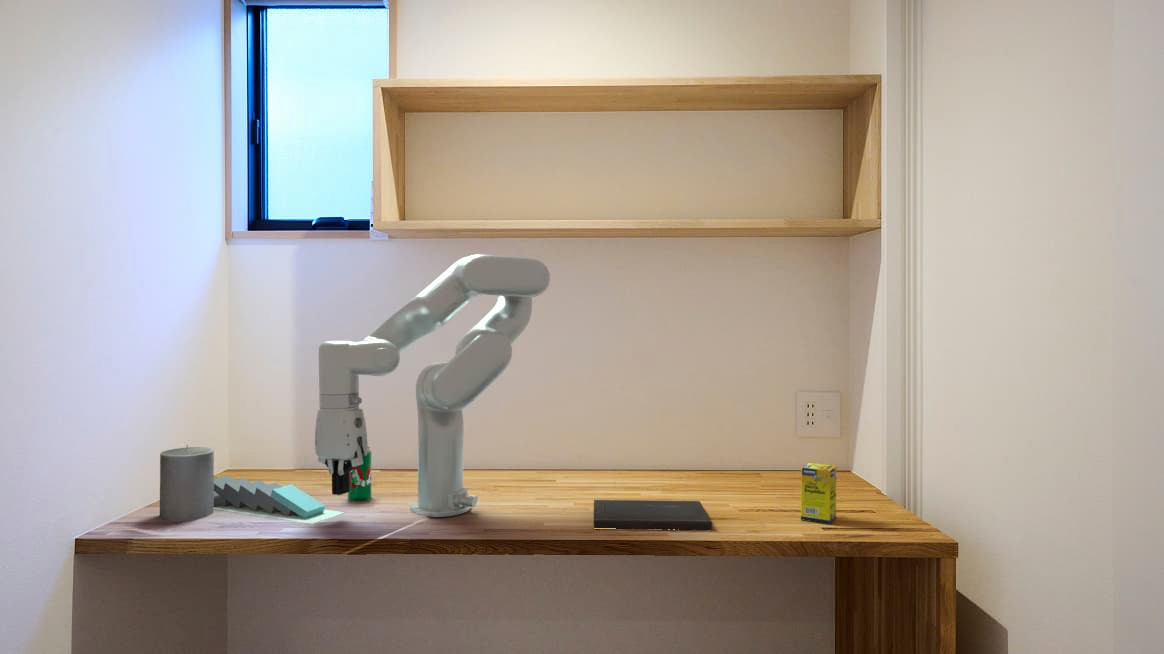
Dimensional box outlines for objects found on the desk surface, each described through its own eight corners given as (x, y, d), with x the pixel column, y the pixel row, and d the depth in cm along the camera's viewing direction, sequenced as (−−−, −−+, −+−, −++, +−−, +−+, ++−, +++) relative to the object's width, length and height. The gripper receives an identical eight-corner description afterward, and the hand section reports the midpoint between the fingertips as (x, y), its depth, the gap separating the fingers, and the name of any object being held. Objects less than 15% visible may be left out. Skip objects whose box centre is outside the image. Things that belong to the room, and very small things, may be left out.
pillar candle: (157, 515, 143) (157, 443, 143) (210, 508, 149) (210, 439, 149) (162, 527, 135) (161, 451, 135) (217, 519, 141) (217, 446, 141)
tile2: (308, 503, 145) (275, 482, 149) (290, 509, 141) (256, 487, 144) (306, 510, 146) (273, 489, 149) (288, 516, 141) (254, 494, 145)
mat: (344, 515, 144) (344, 512, 144) (312, 526, 136) (312, 523, 136) (246, 501, 155) (246, 498, 155) (211, 511, 147) (211, 508, 147)
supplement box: (830, 525, 139) (830, 470, 139) (800, 520, 142) (800, 467, 142) (836, 518, 144) (837, 465, 144) (807, 513, 147) (807, 462, 147)
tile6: (244, 493, 153) (212, 492, 157) (225, 498, 148) (192, 497, 152) (245, 500, 153) (213, 499, 156) (225, 506, 148) (192, 504, 152)
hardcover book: (593, 510, 151) (593, 499, 151) (699, 511, 151) (699, 500, 151) (593, 532, 135) (593, 520, 135) (711, 533, 135) (711, 521, 135)
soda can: (364, 497, 159) (364, 445, 159) (375, 501, 156) (375, 447, 156) (343, 500, 156) (343, 447, 156) (354, 505, 152) (354, 450, 152)
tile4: (276, 499, 149) (244, 478, 153) (257, 504, 144) (225, 482, 148) (274, 505, 149) (243, 484, 153) (255, 511, 145) (223, 489, 148)
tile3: (292, 501, 147) (259, 480, 151) (273, 506, 143) (240, 485, 146) (290, 508, 147) (258, 486, 151) (271, 513, 143) (238, 491, 146)
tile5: (259, 496, 151) (229, 475, 154) (240, 501, 146) (209, 480, 150) (257, 502, 151) (227, 481, 155) (238, 508, 146) (207, 486, 150)
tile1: (325, 505, 144) (291, 484, 147) (307, 511, 139) (272, 489, 143) (323, 512, 144) (289, 491, 147) (304, 518, 139) (270, 496, 143)
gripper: (381, 401, 139) (382, 492, 140) (324, 398, 146) (326, 485, 146) (355, 405, 133) (356, 501, 133) (297, 402, 139) (298, 494, 139)
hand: (340, 493), depth 139 cm, fingers closed
